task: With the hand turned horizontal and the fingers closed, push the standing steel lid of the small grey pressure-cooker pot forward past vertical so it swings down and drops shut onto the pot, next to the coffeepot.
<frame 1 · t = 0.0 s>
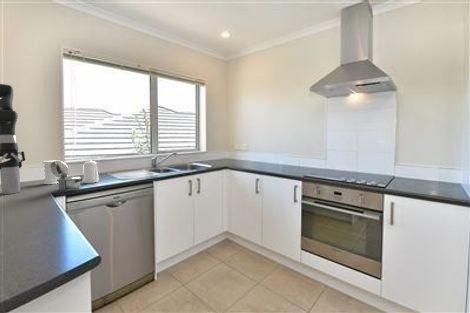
hand: (10, 168, 148), 17 cm above the countertop, tool pointing down, fingers open, 8 cm apart
decorative container: (53, 183, 191), on the countertop
pot: (70, 189, 169), on the countertop
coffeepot: (91, 182, 195), on the countertop
lid: (59, 170, 159), point 15 cm above the countertop, hinge at 105.0°
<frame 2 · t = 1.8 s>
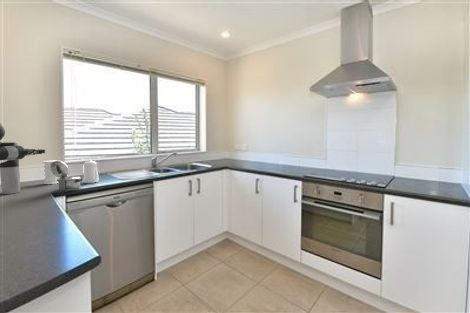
hand: (39, 151, 145), 28 cm above the countertop, tool horizontal, fingers open, 5 cm apart
nothing on the countertop moved.
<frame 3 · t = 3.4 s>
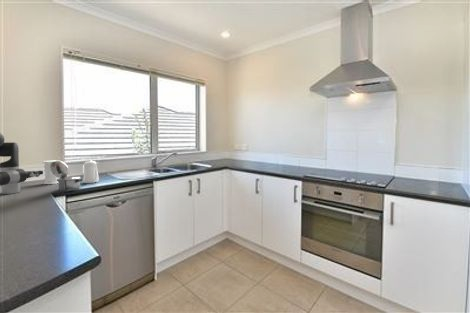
hand: (41, 172, 146), 15 cm above the countertop, tool horizontal, fingers closed
nothing on the countertop moved.
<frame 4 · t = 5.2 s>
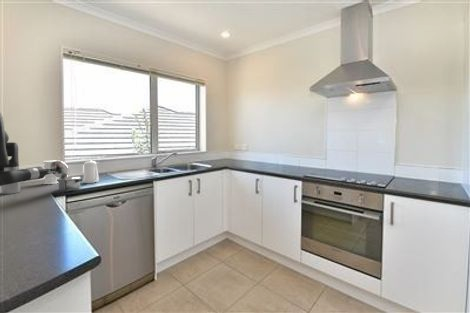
hand: (57, 169, 158), 15 cm above the countertop, tool horizontal, fingers closed
lid: (59, 170, 159), point 15 cm above the countertop, hinge at 104.2°, touching gripper
everything else where it was.
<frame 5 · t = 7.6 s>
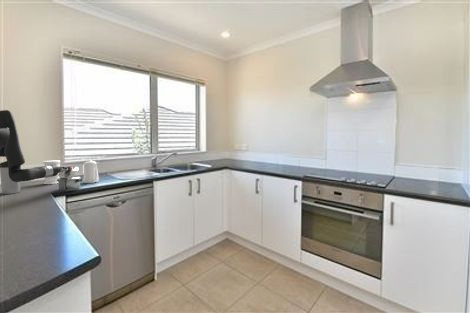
hand: (69, 167, 168), 15 cm above the countertop, tool horizontal, fingers closed
lid: (68, 171, 167), point 12 cm above the countertop, hinge at 31.8°, touching gripper
everything else where it was.
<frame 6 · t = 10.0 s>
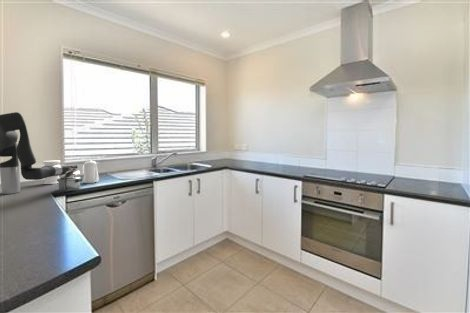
hand: (76, 166, 174), 15 cm above the countertop, tool horizontal, fingers closed
lid: (69, 173, 168), point 11 cm above the countertop, hinge at 16.6°
everything else where it was.
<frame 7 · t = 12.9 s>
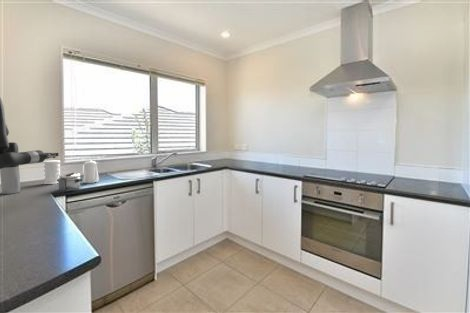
hand: (57, 154, 158), 25 cm above the countertop, tool horizontal, fingers closed
lid: (69, 175, 168), point 10 cm above the countertop, hinge at 5.9°
everything else where it was.
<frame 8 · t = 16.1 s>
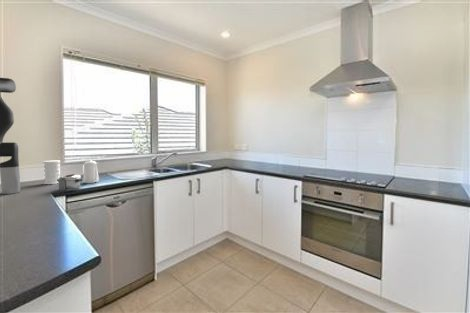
lid: (69, 176, 168), point 9 cm above the countertop, hinge at -0.1°
everything else where it was.
at the end: lid at +0° (first picture: +105°) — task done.
